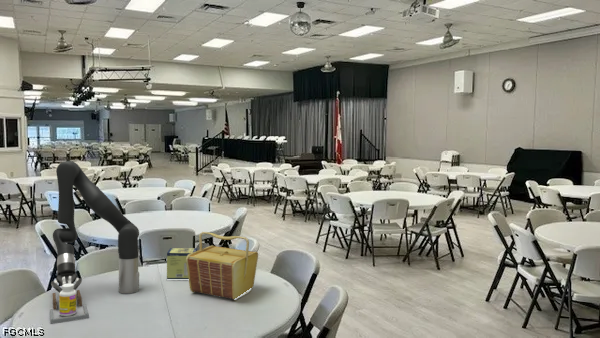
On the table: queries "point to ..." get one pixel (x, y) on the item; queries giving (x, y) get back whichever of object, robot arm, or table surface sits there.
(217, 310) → the table surface
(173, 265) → the protein box
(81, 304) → the walnut dock
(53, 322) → the grey flat square frame
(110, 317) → the table surface
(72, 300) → the supplement bottle
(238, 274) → the picnic basket
